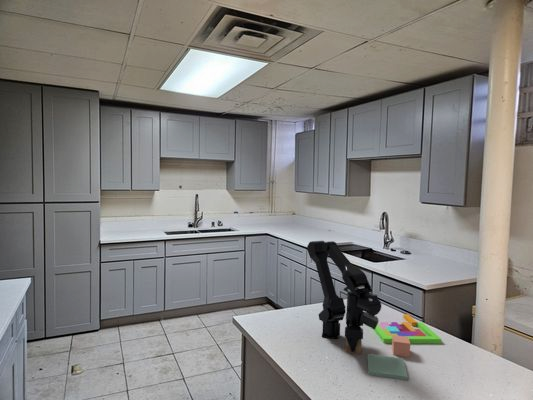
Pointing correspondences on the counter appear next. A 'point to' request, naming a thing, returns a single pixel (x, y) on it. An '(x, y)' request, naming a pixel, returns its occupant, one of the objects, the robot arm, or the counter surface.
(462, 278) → the counter surface
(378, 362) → the base plate
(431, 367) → the counter surface
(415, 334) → the green block puzzle board
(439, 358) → the counter surface
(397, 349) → the salmon pink brick
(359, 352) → the walnut brick
